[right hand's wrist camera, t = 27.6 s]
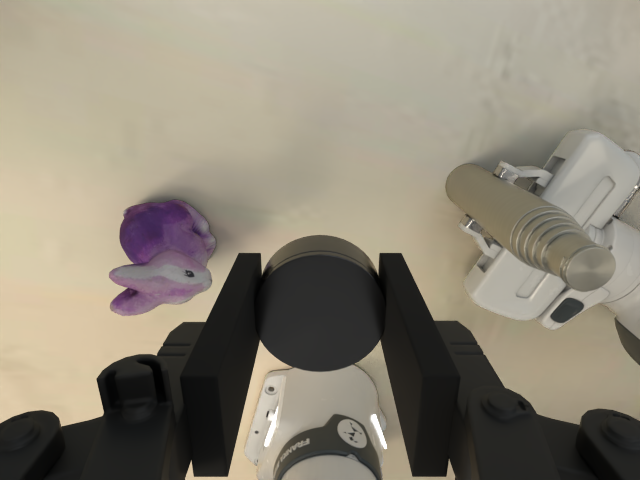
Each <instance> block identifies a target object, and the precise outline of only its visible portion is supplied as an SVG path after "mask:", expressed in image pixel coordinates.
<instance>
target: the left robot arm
mask: <svg viewBox="0 0 640 480" xmlns="http://www.w3.org/2000/svg"><path fill="white" fill-rule="evenodd" d="M493 174H494V175H496V176H498V177H500V178H502V179H505V180H507V181H509V182H511V183H513V184H514V182H515V181H516V179H517V178H518V177H526V178H527V179H529V180H530V181H532V184H531V185H530V187H529V188H528V189H527V191H528V192H530V193H532V194H534V195H536V196H538V197H540V198H542V199H544V200H546V201H548V202H550V203H552V204H553V205H555V206H557V207H559V208H561V209H563V210H565V211H566V212H567V213H568V214H570V215H571V216H572V217H573V218H574V219H575V220H576V222H577V223H578V224H579V225H580V226H581V228H583V230H584V231H585V232H586V234H588V235H589V237H590V238H591V240H592V241H593V242H595V243H596V244H600V245H603V246H605V247H606V248H608V249H609V250H610V252H611V253H612V254H613V256H614V258H615V261H616V268H615V272H614V274H613V276H612V278H611V279H610V280H609V281H608V282H607V283H606V284H605V285H604V286H602V287H600V288H598V289H596V290H593V291H588V292H579V291H575V290H573V289H572V288H570V287H569V286H568V285H566V284H565V283H564V282H563V281H562V279H561V278H560V277H558V276H554V275H551V274H549V273H546V272H543V271H541V270H538V269H536V268H533V267H530V266H528V265H526V264H525V263H523V262H521V261H520V260H518V259H517V258H516V257H515V256H514V255H513V254H511V253H510V252H509V251H508V250H507V249H506V248H505V247H503V246H502V245H501V244H500V243H499V242H498V241H497V240H496V239H494V238H493V239H492V240H491V239H489V238H487V237H484V238H483V237H482V235H481V233H480V232H481V230H482V229H483V228H482V227H481V226H480V225H479V224H477V223H476V222H475V221H474V220H473V219H472V218H471V217H469V216H468V215H467V214H465V216H464V217H463V219H462V220H461V222H460V223H459V225H458V227H459V228H460V229H461V230H463V231H464V232H466V233H468V234H470V235H471V236H472V238H473V240H474V241H475V243H476V245H477V247H478V248H479V249H480V250H481V251H482V252H483V254H482V255H481V256H480V258H479V259H478V261H477V262H476V264H475V265H474V266H473V268H472V269H471V271H470V272H469V274H468V275H467V276H466V278H465V279H464V281H463V286H464V289H465V291H466V293H467V295H468V297H469V298H470V299H471V300H472V301H473V302H474V303H475V304H476V305H478V306H480V307H482V308H484V309H486V310H488V311H491V312H493V313H496V314H499V315H501V316H504V317H507V318H511V319H514V320H519V321H528V320H532V319H535V320H536V321H537V322H538V323H540V324H541V325H542V326H544V327H545V328H547V329H550V330H556V329H558V328H560V327H562V326H563V325H565V324H566V323H567V322H569V321H570V320H572V319H573V318H574V317H576V316H577V315H579V314H580V313H582V312H584V311H585V310H587V309H589V308H590V307H592V306H594V305H596V304H601V305H604V306H606V307H608V308H609V309H610V310H611V311H612V312H613V313H614V314H616V318H615V325H616V329H617V332H618V335H619V337H620V340H621V343H622V345H623V347H624V348H625V350H626V351H627V353H628V354H629V355H630V356H631V357H632V358H633V359H634V360H635V361H636V362H637V363H638V364H639V365H640V231H639V230H637V229H635V228H633V227H631V226H630V225H628V224H626V223H624V222H623V221H621V220H619V217H620V216H621V214H622V213H623V212H624V211H625V209H626V208H627V207H628V206H629V204H630V202H631V201H632V199H633V197H634V196H635V195H636V194H637V193H638V191H640V155H639V154H637V153H635V152H634V151H631V150H623V149H622V148H621V147H620V146H618V145H617V144H616V143H615V142H613V141H612V140H611V139H609V138H608V137H606V136H605V135H603V134H602V133H600V132H597V131H594V130H589V129H577V130H573V131H569V132H568V133H567V134H566V135H565V137H564V138H563V139H562V141H561V142H560V144H559V145H558V147H557V148H556V149H555V151H554V152H553V154H552V155H551V157H550V158H549V159H548V161H547V162H546V164H545V165H544V167H543V168H542V169H541V168H538V167H536V166H520V167H513V166H512V165H510V164H508V163H506V162H503V161H500V163H499V164H498V166H497V167H496V169H495V170H494V172H493ZM270 387H273V388H270ZM385 429H386V418H385V416H384V414H383V413H382V411H381V410H380V408H379V405H378V395H377V390H376V387H375V385H374V383H373V381H372V380H371V379H370V377H369V376H368V375H367V374H366V373H365V372H364V371H362V370H361V369H360V368H358V367H356V366H355V365H351V366H348V367H346V368H343V369H339V370H335V371H329V372H312V371H305V370H301V369H297V368H295V367H294V368H292V369H289V370H279V371H272V372H269V373H268V374H267V375H266V376H265V378H264V382H263V385H262V389H261V392H260V395H259V399H258V402H257V406H256V409H255V413H254V416H253V419H252V423H251V426H250V430H249V433H248V436H247V440H246V443H245V449H244V454H245V456H246V457H247V458H248V459H249V460H250V461H251V462H252V463H253V464H255V465H256V466H257V478H258V480H383V478H382V470H381V467H382V465H383V446H384V449H386V448H387V447H386V443H385V440H384V437H383V434H382V432H383V431H384V430H385ZM382 443H383V444H382Z"/></svg>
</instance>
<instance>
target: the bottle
mask: <svg viewBox="0 0 640 480" xmlns="http://www.w3.org/2000/svg"><path fill="white" fill-rule="evenodd" d="M446 193H447V195H448V197H449V198H450V200H451V201H452V202H454V203H455V204H456V205H457V206H458V207H459V208H460V209H462V210H463V211H464V212H465V213H466V214H467V215H468V216H469V217H471V218H472V219H473V220H474V221H475V222H476V223H477V224H479V225H480V226H481V227H482V228H483V229H484V230H485V231H486V232H488V233H489V234H490V235H491V236H492V237H493V238H494V239H496V240H497V241H498V242H499V243H500V244H501V245H502V246H503V247H505V248H506V249H507V250H508V251H509V252H510V253H511V254H513V255H514V256H515V257H516V258H517V259H518V260H520V261H521V262H523V263H525V264H526V265H528V266H530V267H533V268H536V269H538V270H541V271H543V272H546V273H549V274H551V275H554V276H558V277H560V278H561V279H562V281H563V282H564V283H565V284H566V285H568V286H569V287H570V288H572V289H573V290H575V291H579V292H588V291H593V290H596V289H598V288H600V287H602V286H604V285H605V284H606V283H607V282H608V281H609V280H610V279H611V278H612V276H613V274H614V272H615V268H616V261H615V258H614V256H613V254H612V253H611V252H610V250H609V249H608V248H606V247H605V246H603V245H600V244H596V243H595V242H593V241H592V240H591V238H590V237H589V235H588V234H586V232H585V231H584V230H583V228H581V226H580V225H579V224H578V223H577V222H576V220H575V219H574V218H573V217H572V216H571V215H570V214H568V213H567V212H566V211H565V210H563V209H561V208H559V207H557V206H555V205H553V204H552V203H550V202H548V201H546V200H544V199H542V198H540V197H538V196H536V195H534V194H532V193H530V192H528V191H526V190H524V189H522V188H520V187H518V186H517V185H515V184H513V183H511V182H509V181H507V180H505V179H502V178H500V177H498V176H496V175H494V174H493V173H491V172H489V171H487V170H485V169H483V168H482V167H480V166H478V165H475V164H464V165H461V166H459V167H457V168H456V169H454V170H453V171H452V172H451V174H450V175H449V177H448V179H447V181H446Z"/></svg>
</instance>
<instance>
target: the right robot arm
mask: <svg viewBox="0 0 640 480" xmlns="http://www.w3.org/2000/svg"><path fill="white" fill-rule="evenodd" d="M261 277H262V269H261V253H239V254H238V256H237V258H236V260H235V262H234V265H233V267H232V269H231V271H230V273H229V275H228V277H227V279H226V281H225V283H224V285H223V287H222V290H221V292H220V294H219V296H218V298H217V300H216V302H215V304H214V306H213V308H212V310H211V312H210V315H209V317H208V319H207V321H206V322H183V323H182V324H180V325H179V326H178V327H176V328H175V329H174V330H173V331H171V332H170V333H169V335H168V337H167V338H166V340H165V342H164V343H163V346H162V347H161V348H160V350H159V352H158V353H157V356H156V355H152V354H139V355H134V356H130V357H126V358H123V359H121V360H119V361H116V362H114V363H112V364H111V365H110V366H108V367H107V368H105V369H104V370H103V371H102V372H101V374H100V375H99V376H98V378H97V383H98V388H99V392H100V396H101V401H102V405H103V409H104V415H103V416H102V417H99V418H95V419H92V420H88V421H84V422H80V423H75V424H71V425H67V426H62V427H61V424H60V421H59V418H58V417H57V416H56V415H55V414H54V413H53V412H48V411H43V410H40V411H31V412H26V413H23V414H20V415H17V416H14V417H12V418H10V419H8V420H6V421H4V422H2V423H0V480H185V477H186V474H187V471H188V468H189V465H190V462H191V460H192V466H193V473H194V477H228V473H229V469H230V465H231V460H232V456H233V452H234V448H235V443H236V439H237V435H238V431H239V426H240V422H241V418H242V414H243V409H244V405H245V401H246V397H247V392H248V388H249V384H250V380H251V375H252V371H253V367H254V363H255V358H256V354H257V350H258V346H259V341H260V338H259V336H258V334H257V332H256V328H255V313H254V300H255V297H256V294H257V291H258V287H259V284H260V281H261ZM378 277H379V280H380V283H381V287H382V290H383V293H384V297H385V300H386V318H385V329H384V332H383V334H382V337H381V339H380V340H381V345H382V349H383V353H384V357H385V362H386V366H387V370H388V374H389V379H390V383H391V387H392V391H393V396H394V400H395V404H396V408H397V413H398V417H399V421H400V425H401V430H402V434H403V438H404V442H405V447H406V451H407V455H408V459H409V464H410V468H411V472H412V476H413V477H446V475H447V468H448V461H449V459H450V462H451V465H452V468H453V471H454V474H455V480H640V421H638V420H636V419H634V418H633V417H631V416H629V415H626V414H623V413H620V412H617V411H614V410H607V409H594V410H589V411H587V412H586V413H585V414H584V415H583V416H582V418H581V422H580V425H577V424H572V423H568V422H564V421H559V420H555V419H551V418H547V417H544V416H541V415H538V414H536V412H535V410H534V408H533V407H532V405H531V404H530V403H529V402H528V401H527V400H526V399H525V398H523V397H522V396H521V395H519V394H517V393H515V392H513V391H511V390H509V389H506V388H505V387H504V386H503V384H502V382H501V381H500V379H499V377H498V376H497V374H496V372H495V371H494V369H493V367H492V366H491V364H490V363H489V361H488V359H487V358H486V356H485V355H483V351H482V349H481V348H480V346H479V345H477V341H476V340H475V338H474V336H473V335H472V333H471V331H470V330H468V329H467V328H466V327H464V326H463V325H462V324H460V323H459V322H458V321H434V320H433V318H432V316H431V314H430V312H429V310H428V308H427V306H426V304H425V301H424V299H423V297H422V295H421V293H420V291H419V289H418V287H417V285H416V283H415V281H414V279H413V276H412V274H411V272H410V270H409V268H408V266H407V264H406V262H405V260H404V258H403V256H402V254H401V253H380V255H379V274H378Z"/></svg>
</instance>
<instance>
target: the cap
mask: <svg viewBox="0 0 640 480" xmlns="http://www.w3.org/2000/svg"><path fill="white" fill-rule="evenodd" d="M254 313H255V328H256V332H257V334H258V336H259V338H260V340H261V342H262V343H263V345H264V346H265V347H266V348H267V350H268V351H269V352H270V353H271V354H272V355H274V356H275V357H276V358H277V359H279V360H280V361H282V362H284V363H286V364H287V365H289V366H292V367H295V368H297V369H301V370H305V371H312V372H329V371H335V370H339V369H343V368H346V367H348V366H351V365H353V364H355V363H356V362H358V361H360V360H361V359H363V358H364V357H365V356H367V355H368V354H369V353H370V352H371V351H372V350H373V349H374V347H375V346H376V345H377V343H378V342H379V340H380V339H381V337H382V334H383V332H384V329H385V318H386V300H385V297H384V293H383V290H382V287H381V283H380V280H379V277H378V274H377V271H376V269H375V267H374V265H373V263H372V261H371V260H370V258H369V257H368V256H367V255H366V254H365V253H364V252H363V251H362V250H361V249H360V248H358V247H357V246H355V245H354V244H352V243H350V242H348V241H346V240H344V239H341V238H337V237H333V236H326V235H314V236H307V237H303V238H300V239H297V240H294V241H292V242H290V243H288V244H286V245H285V246H283V247H282V248H281V249H279V250H278V251H277V252H276V253H275V254H274V255H273V256H272V257H271V259H270V260H269V262H268V263H267V265H266V267H265V269H264V271H263V274H262V277H261V281H260V284H259V287H258V291H257V294H256V297H255V300H254Z"/></svg>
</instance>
